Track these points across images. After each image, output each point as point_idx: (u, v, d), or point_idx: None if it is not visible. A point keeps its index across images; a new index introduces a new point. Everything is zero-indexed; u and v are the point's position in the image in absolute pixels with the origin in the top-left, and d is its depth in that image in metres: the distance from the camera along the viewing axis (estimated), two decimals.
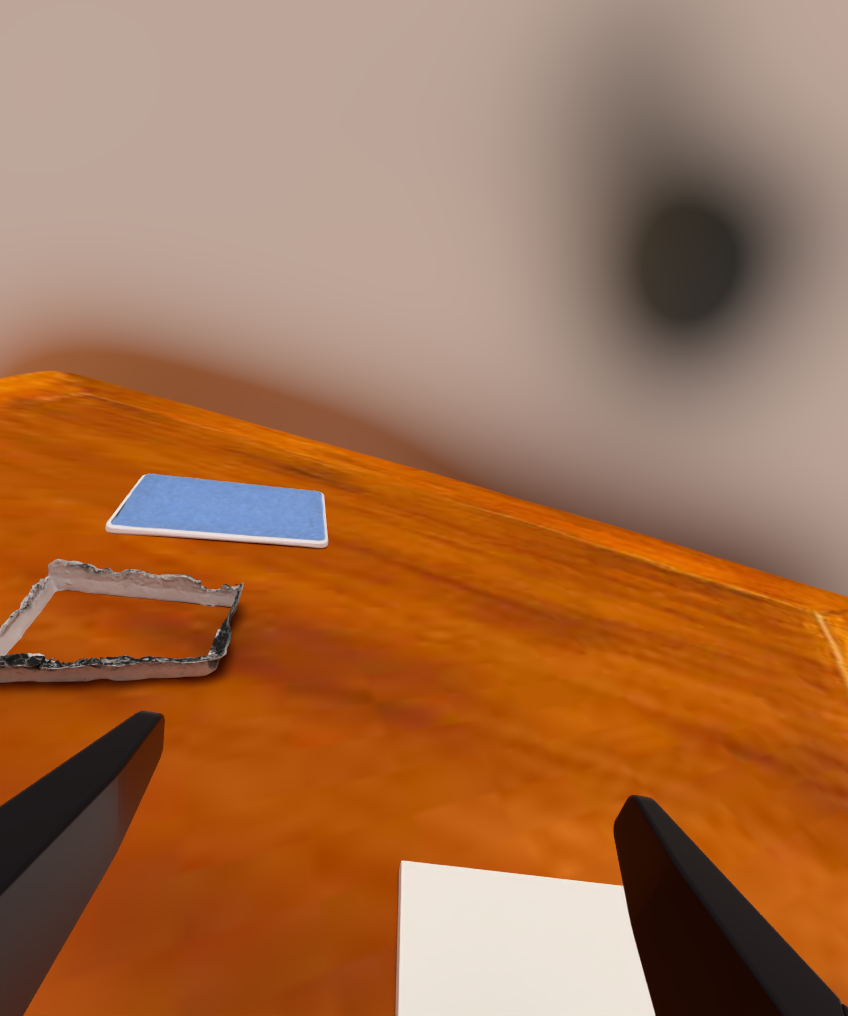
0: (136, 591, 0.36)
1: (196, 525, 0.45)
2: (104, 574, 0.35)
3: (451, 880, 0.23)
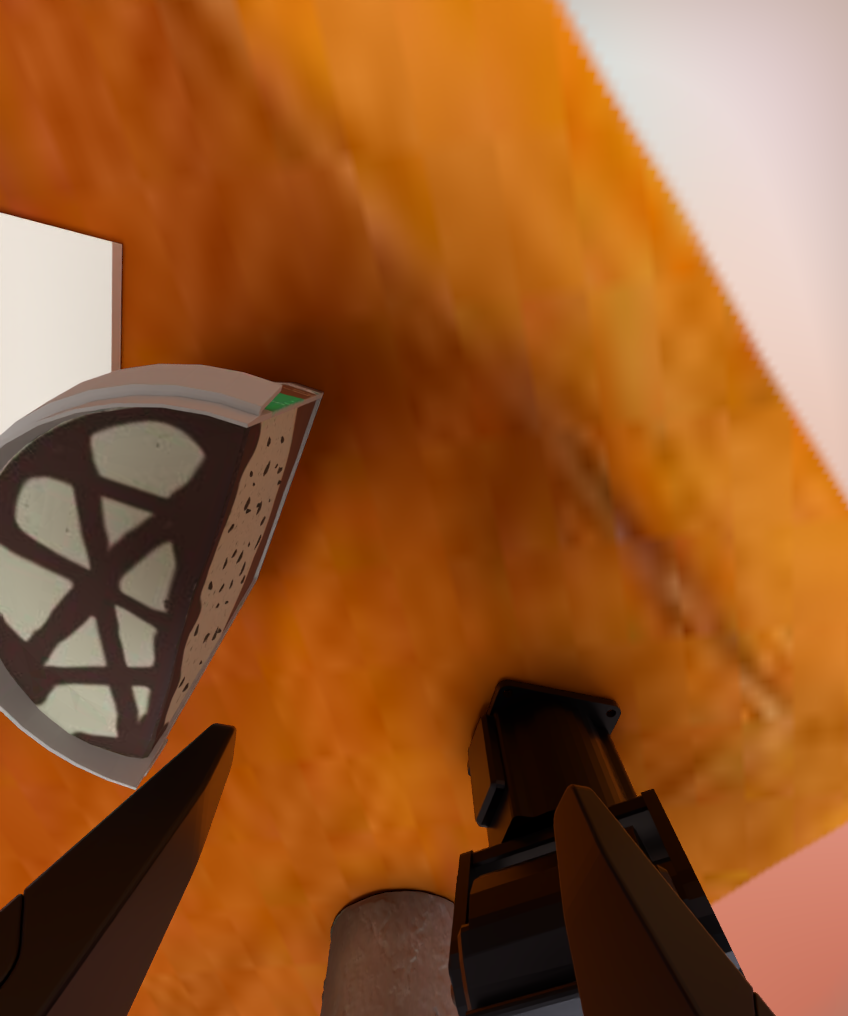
0: None
1: None
2: None
3: None
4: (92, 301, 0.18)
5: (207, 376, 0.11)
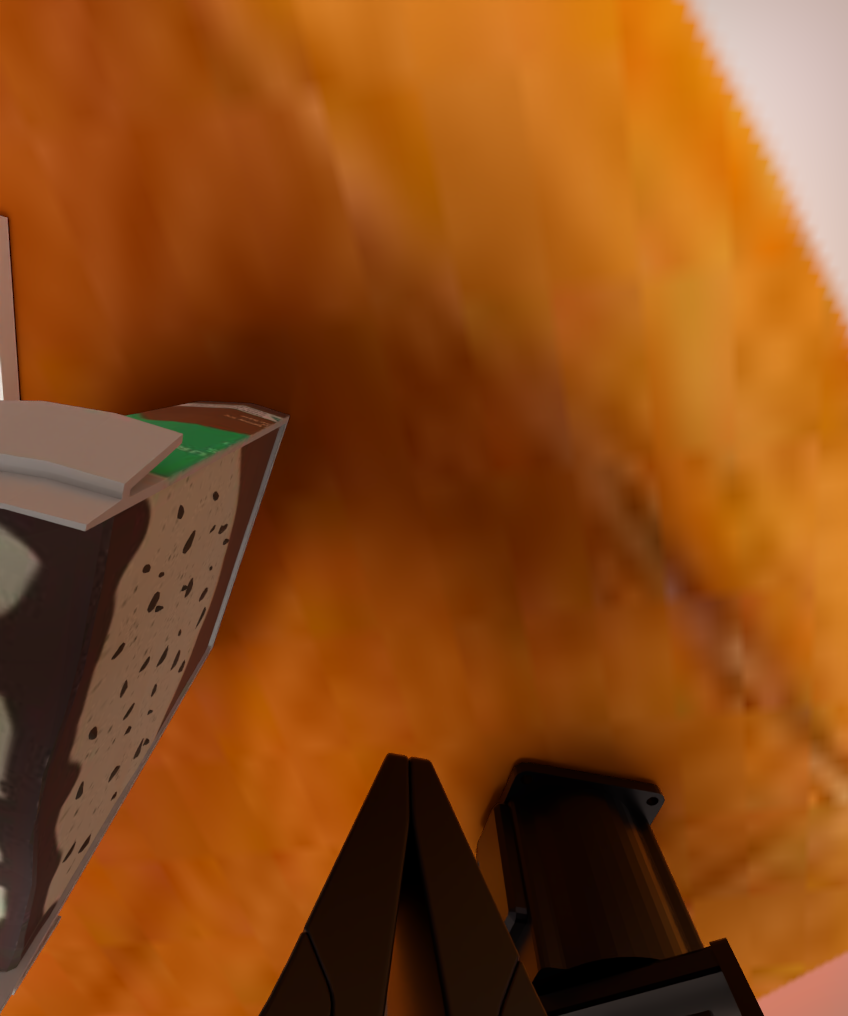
0: None
1: None
2: None
3: None
4: None
5: (40, 425, 0.06)
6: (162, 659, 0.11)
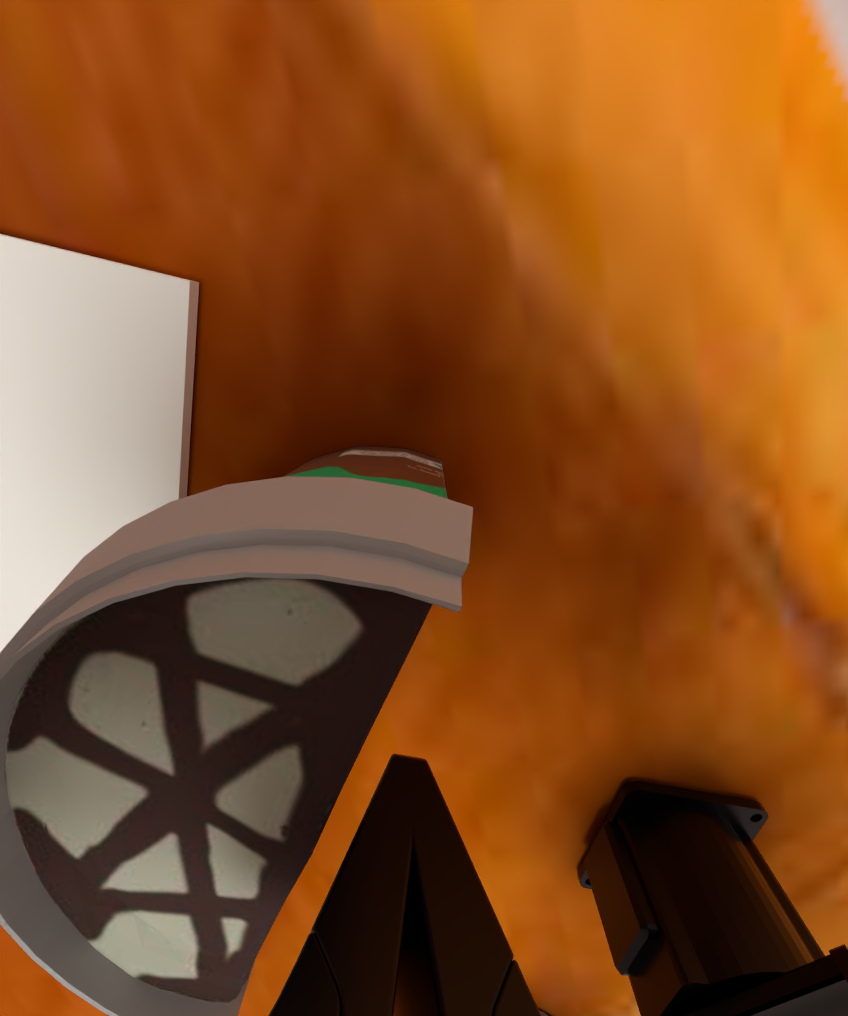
0: None
1: None
2: None
3: None
4: (161, 354, 0.14)
5: (370, 504, 0.07)
6: None
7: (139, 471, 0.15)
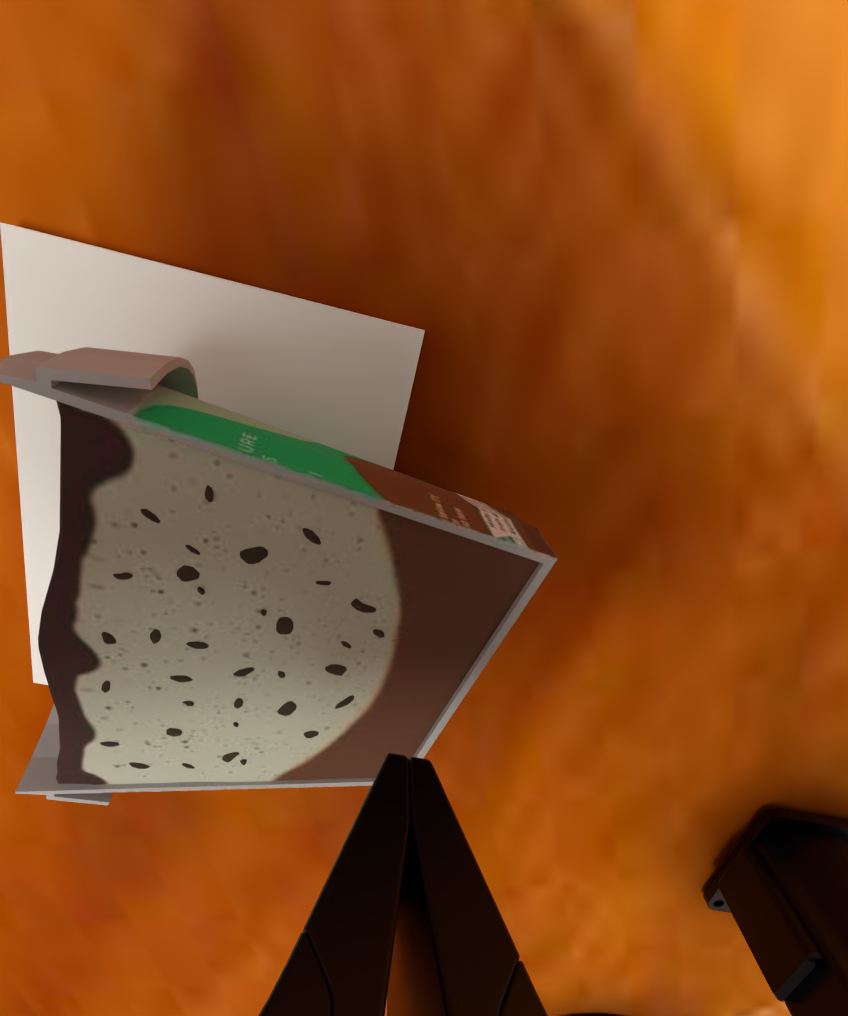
0: None
1: None
2: None
3: None
4: (384, 401, 0.14)
5: (130, 354, 0.08)
6: (239, 673, 0.11)
7: None
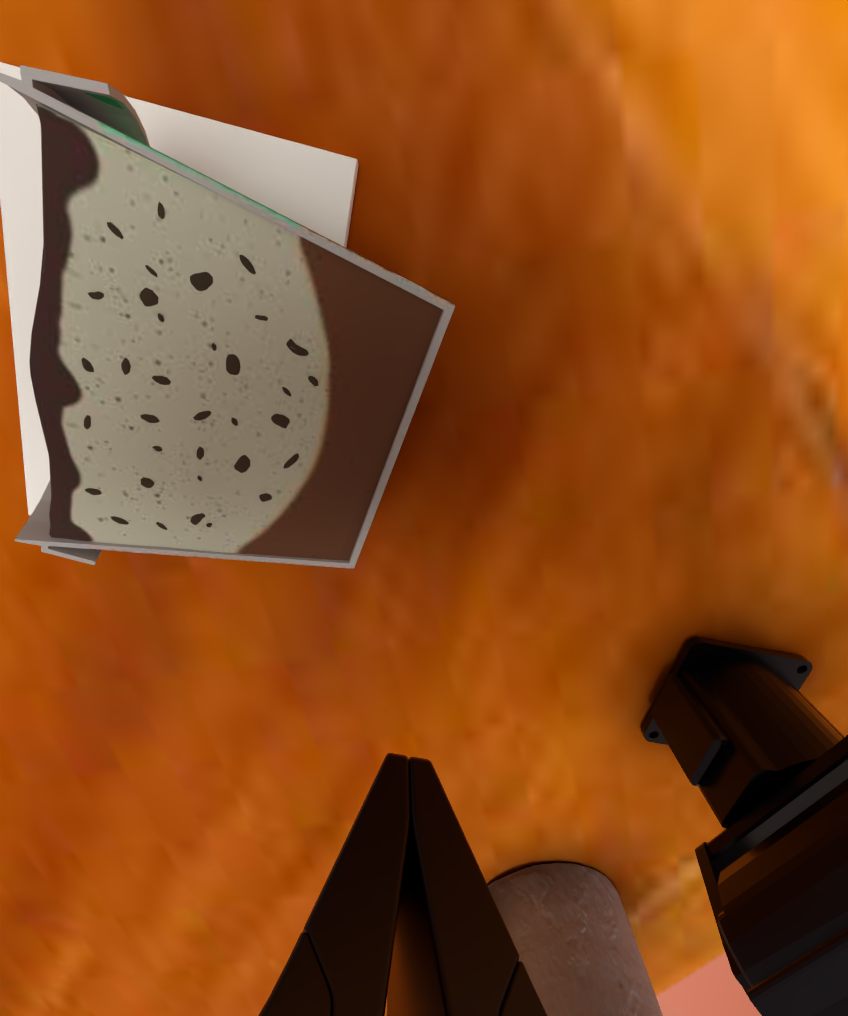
0: None
1: None
2: None
3: (40, 463, 0.19)
4: (326, 227, 0.16)
5: None
6: (199, 415, 0.13)
7: None
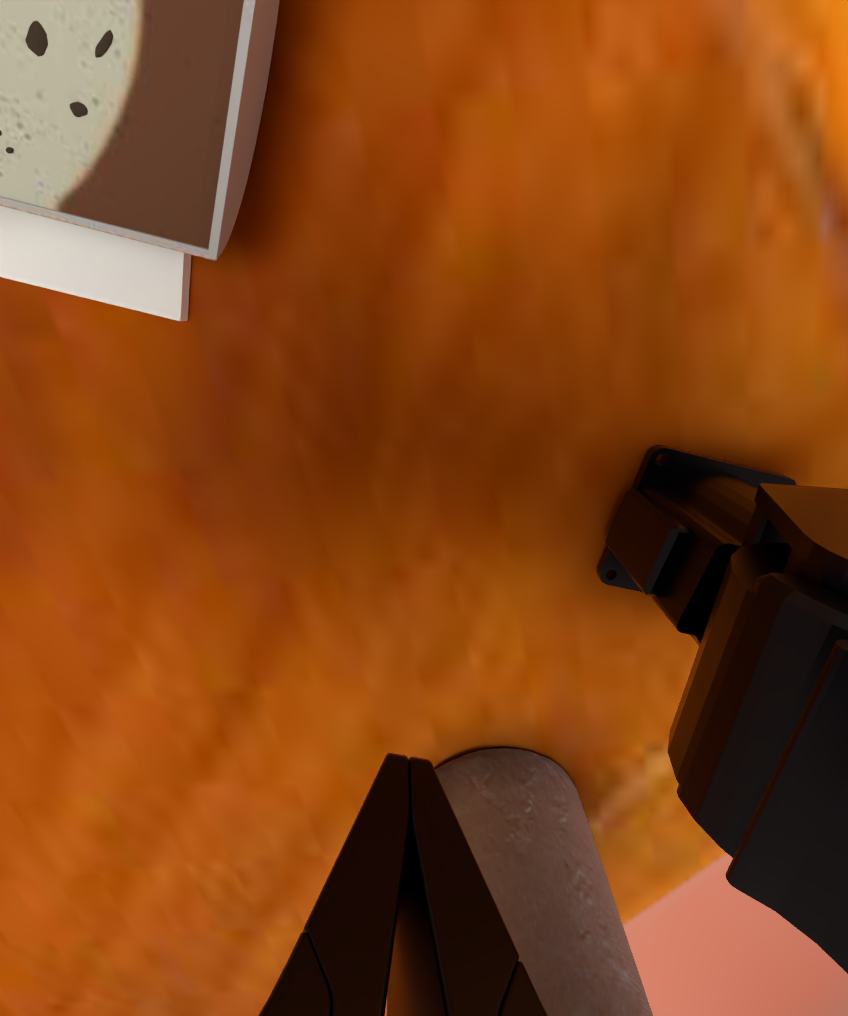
0: None
1: None
2: None
3: None
4: None
5: None
6: None
7: None
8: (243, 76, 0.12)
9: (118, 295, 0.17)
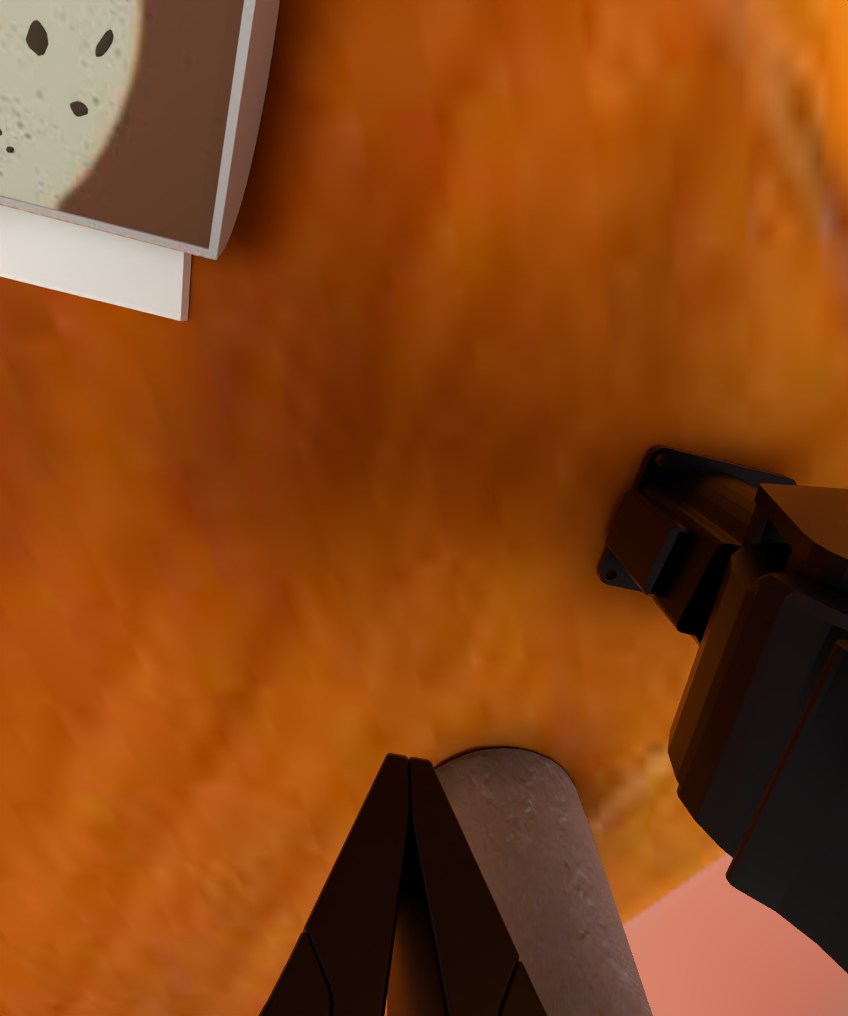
0: None
1: None
2: None
3: None
4: None
5: None
6: None
7: None
8: (243, 75, 0.12)
9: (118, 295, 0.17)
